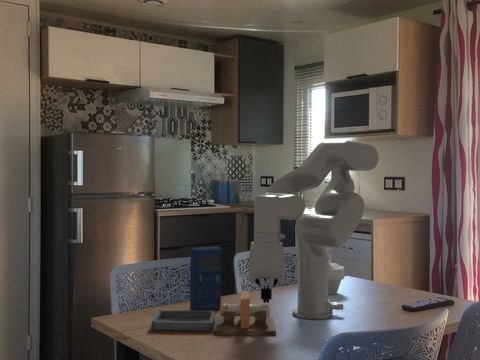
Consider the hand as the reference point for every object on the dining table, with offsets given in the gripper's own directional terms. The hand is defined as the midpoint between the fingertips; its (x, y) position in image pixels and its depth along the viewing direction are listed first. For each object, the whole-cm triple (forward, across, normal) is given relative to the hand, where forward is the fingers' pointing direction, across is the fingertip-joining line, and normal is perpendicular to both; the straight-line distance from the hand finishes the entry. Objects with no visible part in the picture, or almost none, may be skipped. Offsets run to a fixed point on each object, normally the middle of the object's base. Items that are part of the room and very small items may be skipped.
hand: (266, 301), depth 156 cm
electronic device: (+8, +18, -20) cm, 28 cm away
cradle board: (+8, +6, 0) cm, 10 cm away
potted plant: (+8, -26, -46) cm, 53 cm away
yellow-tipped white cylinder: (+4, +6, 0) cm, 7 cm away
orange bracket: (+6, +6, 0) cm, 9 cm away
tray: (+8, +24, -2) cm, 25 cm away
